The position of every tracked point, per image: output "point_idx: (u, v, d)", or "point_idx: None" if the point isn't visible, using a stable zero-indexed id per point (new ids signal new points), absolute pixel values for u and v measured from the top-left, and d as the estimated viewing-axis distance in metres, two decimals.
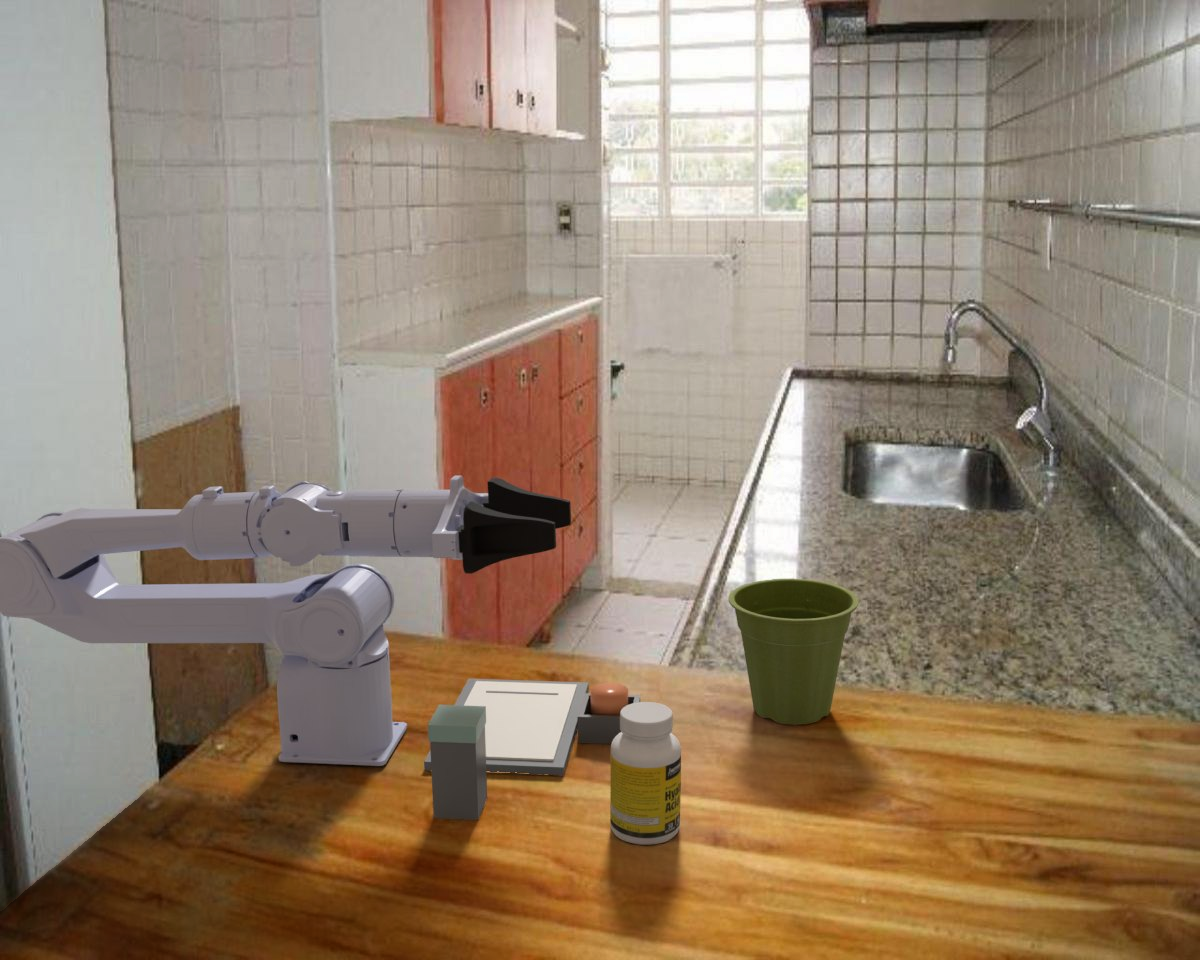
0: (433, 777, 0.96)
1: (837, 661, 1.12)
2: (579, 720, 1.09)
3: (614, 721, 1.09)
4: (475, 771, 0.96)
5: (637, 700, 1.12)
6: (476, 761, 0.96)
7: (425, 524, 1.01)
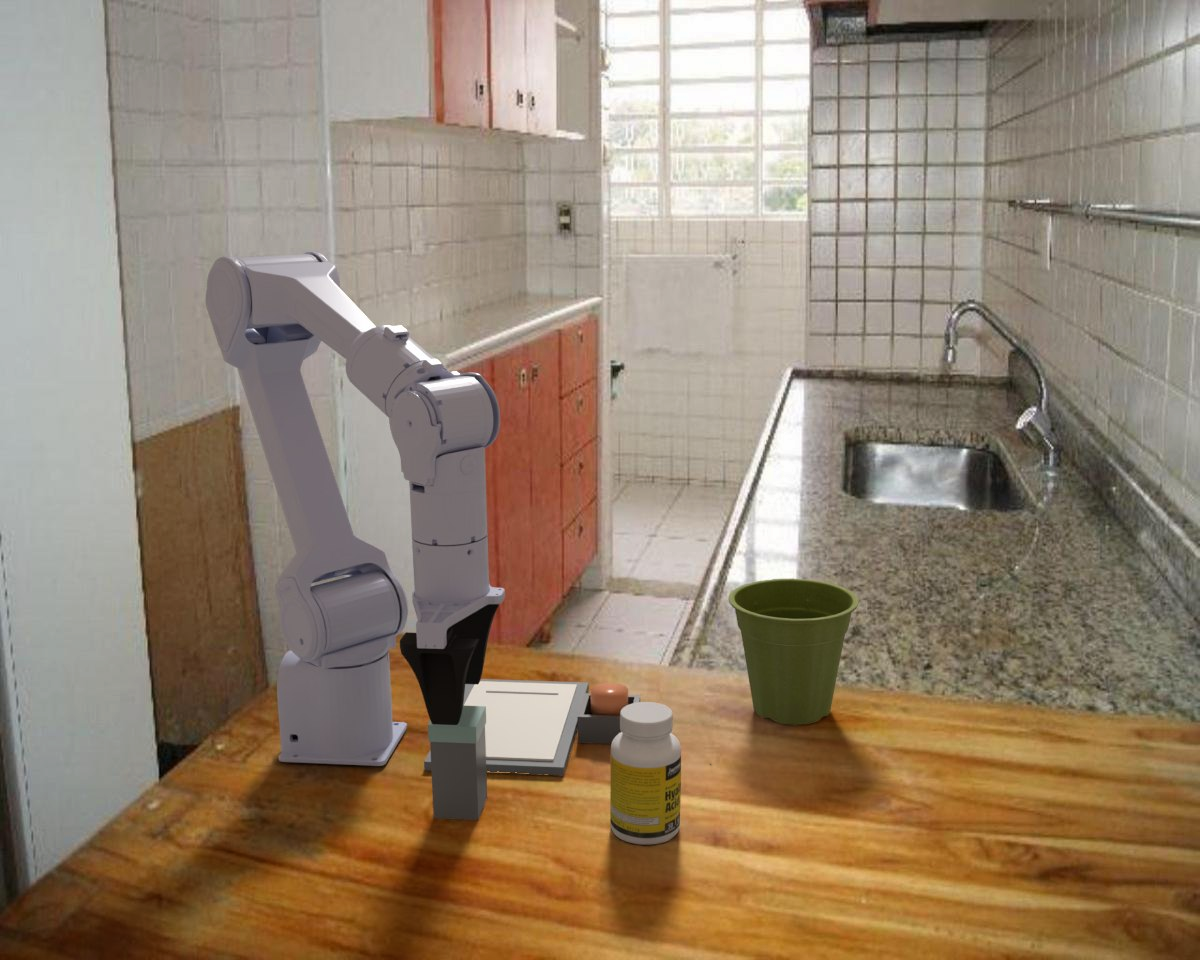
0: (433, 777, 0.96)
1: (837, 661, 1.12)
2: (579, 720, 1.09)
3: (614, 721, 1.09)
4: (475, 771, 0.96)
5: (637, 700, 1.12)
6: (476, 761, 0.96)
7: (450, 581, 0.91)
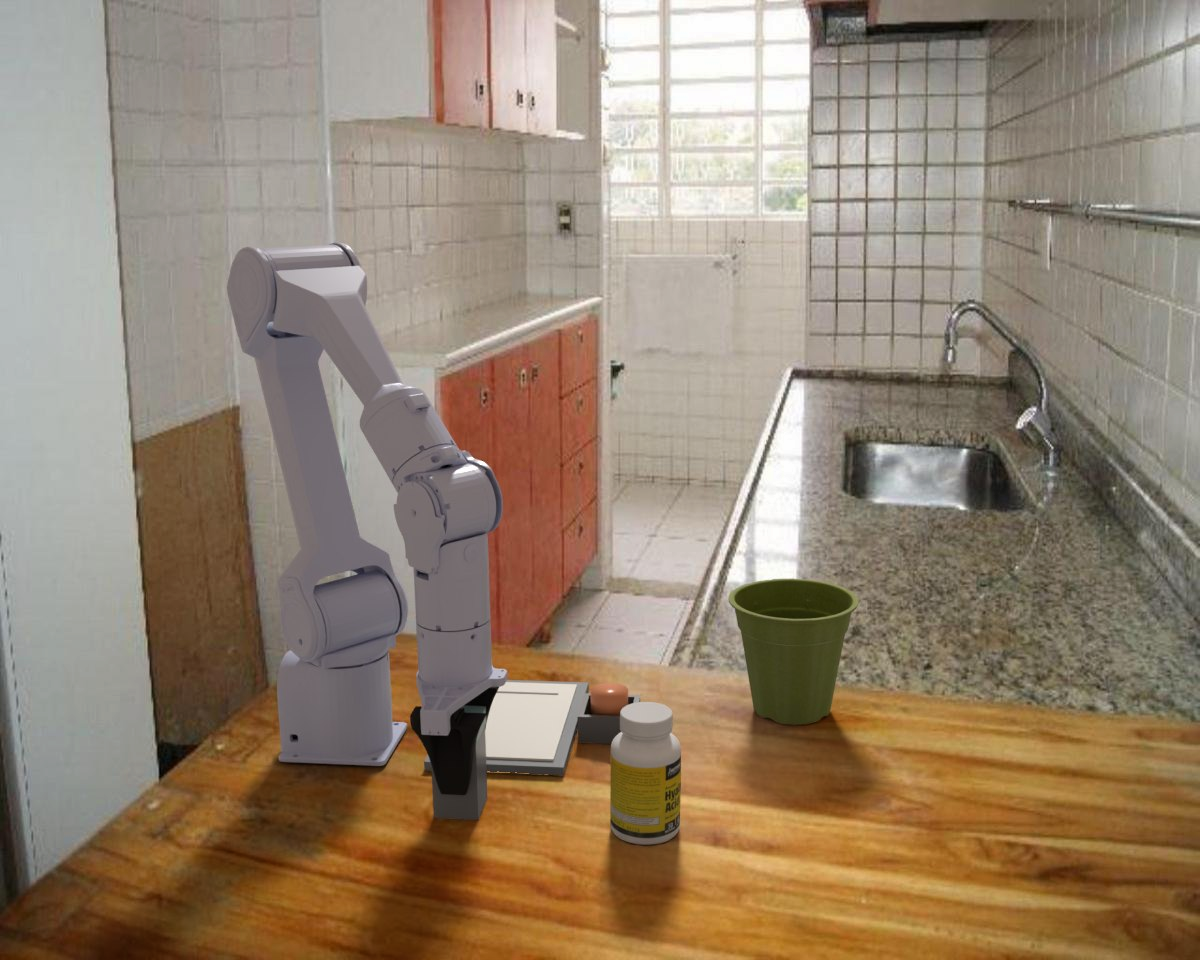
0: (433, 777, 0.96)
1: (837, 661, 1.12)
2: (579, 720, 1.09)
3: (614, 721, 1.09)
4: (475, 771, 0.96)
5: (637, 700, 1.12)
6: (476, 761, 0.96)
7: (453, 665, 0.93)
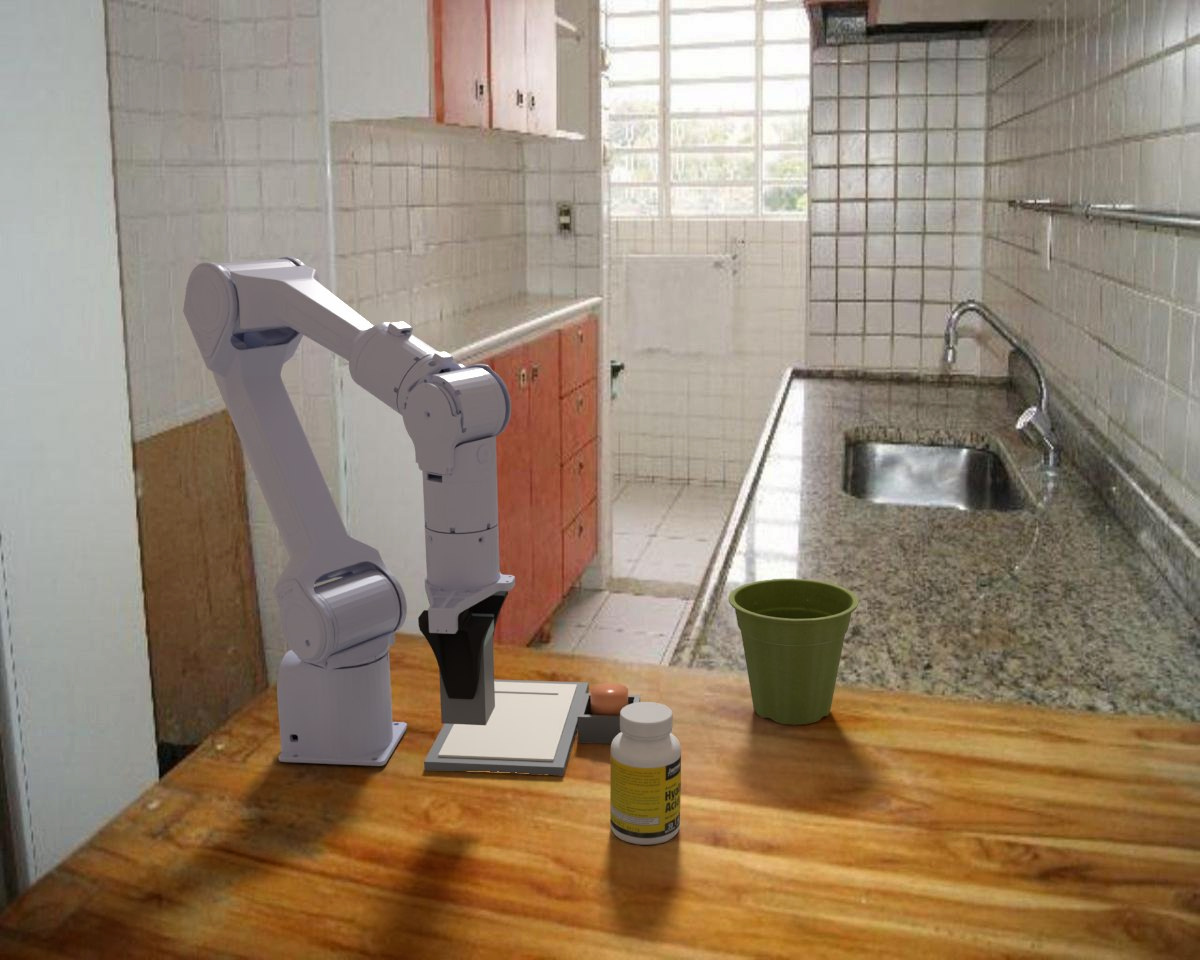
0: (441, 682, 0.97)
1: (837, 661, 1.12)
2: (579, 720, 1.09)
3: (614, 721, 1.09)
4: (483, 676, 0.96)
5: (637, 700, 1.12)
6: (484, 666, 0.96)
7: (461, 568, 0.93)
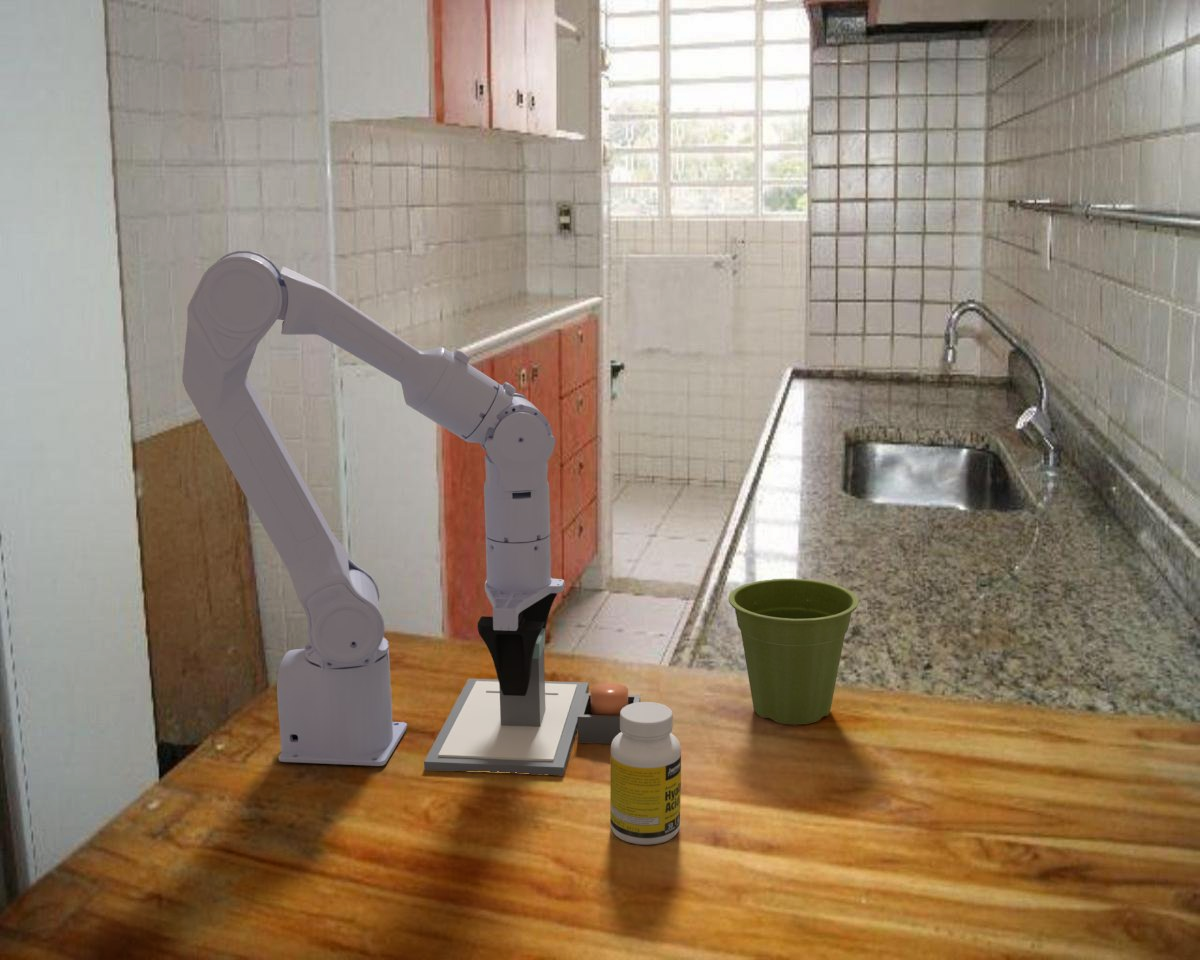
0: None
1: (837, 661, 1.12)
2: (579, 720, 1.09)
3: (614, 721, 1.09)
4: (538, 683, 1.10)
5: (637, 700, 1.12)
6: (539, 674, 1.10)
7: (519, 573, 1.06)
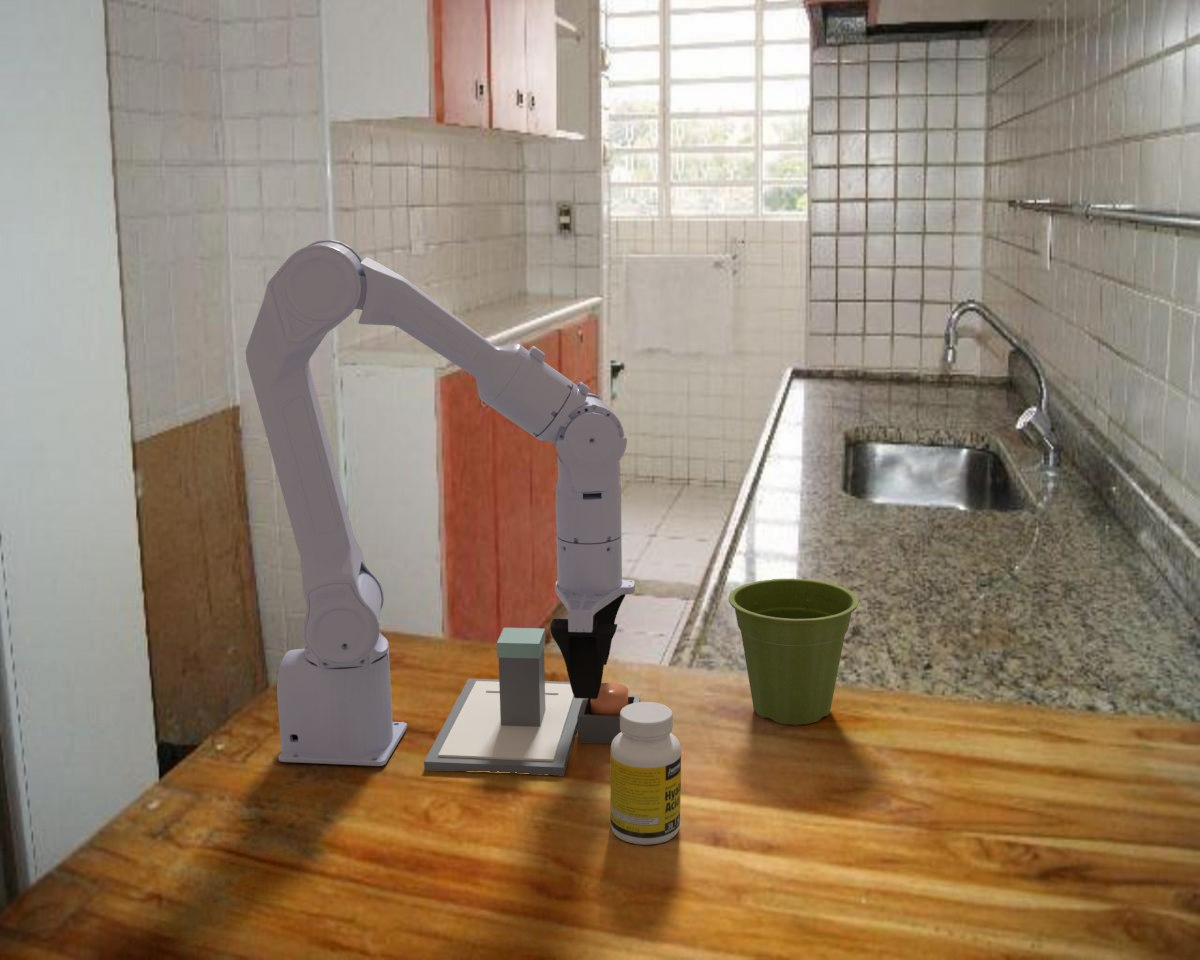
0: (501, 689, 1.10)
1: (837, 661, 1.12)
2: (579, 720, 1.09)
3: (614, 721, 1.09)
4: (538, 683, 1.10)
5: (637, 700, 1.12)
6: (539, 674, 1.10)
7: (592, 574, 1.06)
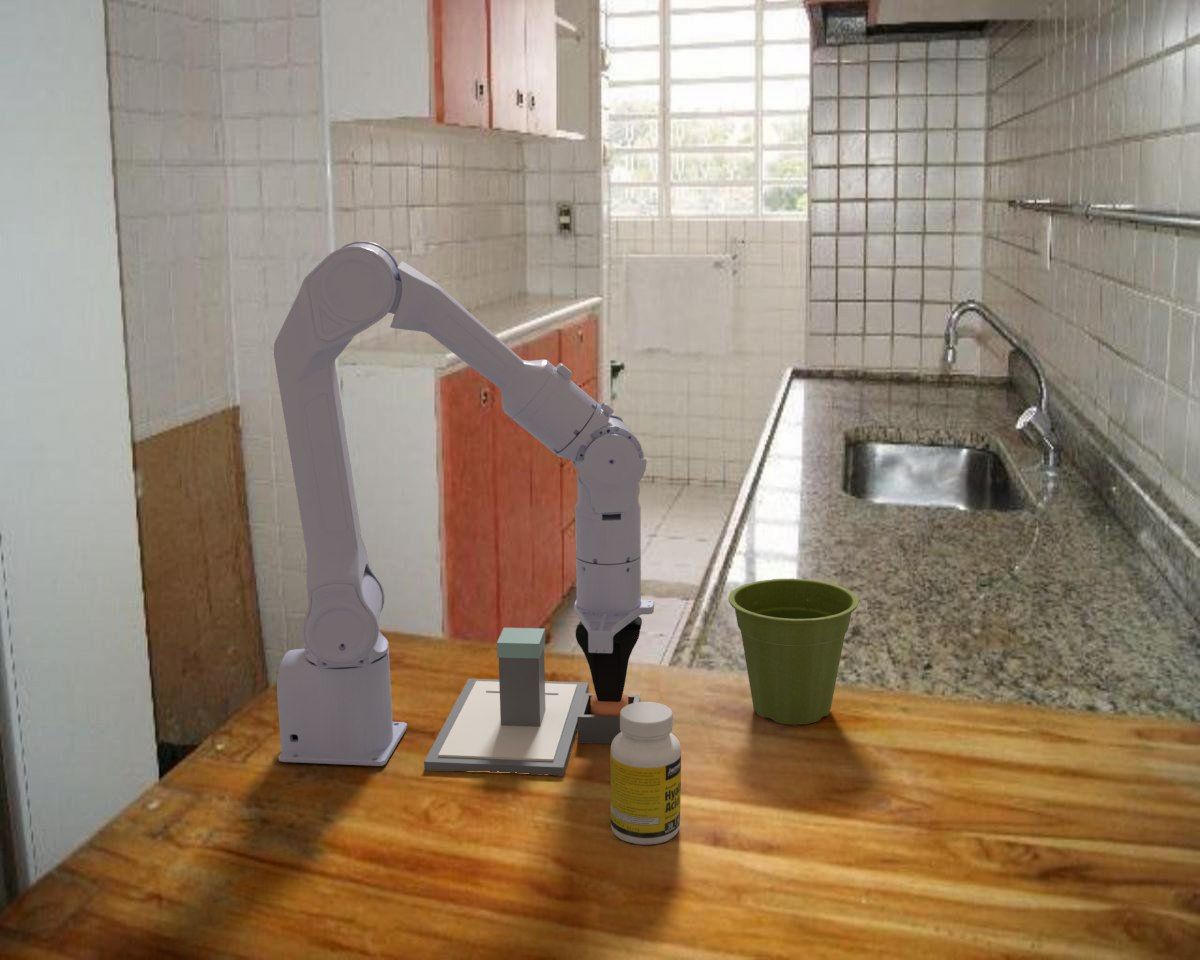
0: (501, 689, 1.10)
1: (837, 661, 1.12)
2: (579, 720, 1.09)
3: (614, 721, 1.09)
4: (538, 683, 1.10)
5: (637, 700, 1.12)
6: (539, 674, 1.10)
7: (612, 594, 1.06)
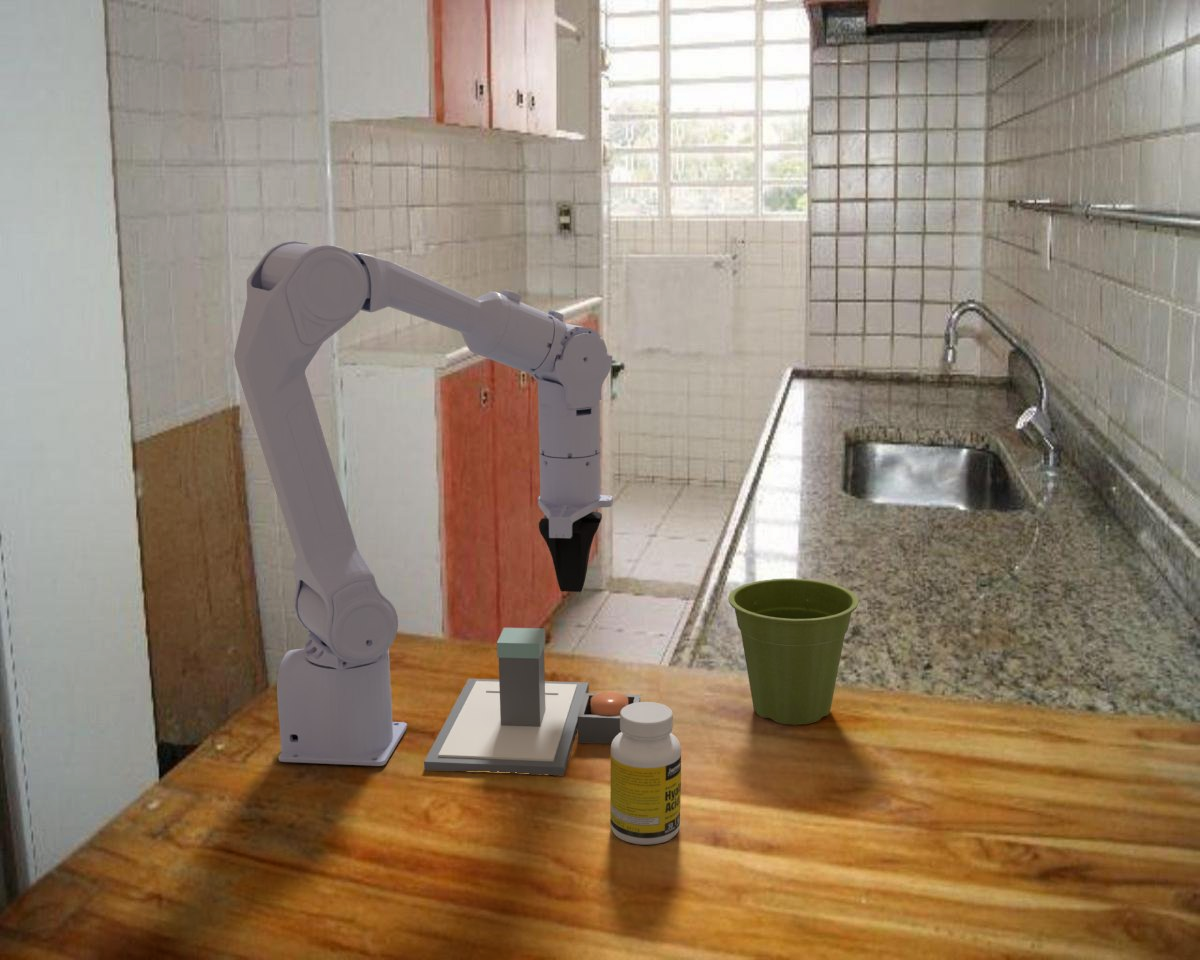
0: (501, 689, 1.10)
1: (837, 661, 1.12)
2: (579, 720, 1.09)
3: (614, 721, 1.09)
4: (538, 683, 1.10)
5: (637, 700, 1.12)
6: (539, 674, 1.10)
7: (572, 487, 1.13)
